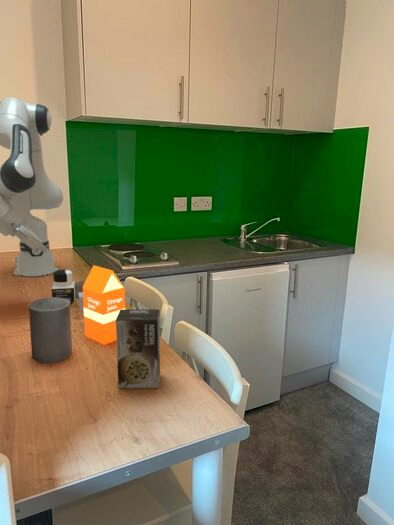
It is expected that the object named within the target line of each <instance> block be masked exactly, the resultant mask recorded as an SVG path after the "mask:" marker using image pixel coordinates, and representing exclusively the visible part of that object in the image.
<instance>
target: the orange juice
mask: <svg viewBox="0 0 394 525" xmlns="http://www.w3.org/2000/svg"><path fill="white" fill-rule="evenodd" d="M84 281H85V283H84V285H83V287H82V288H83V302H84V311H83V319H84V320H83V321H84V337H86V338H89V339H91V340H93V341H95V342H97V343H99V344H101V345H104V346H105V345H108V344H110V343H113V342H115V341H117V339H116V318H117V316H118V314H119V312H120V310H126V293H125V292H126V290H125V287H124V285H123V284H122V282H121V281H120V279H119V277H118V276H117V275H116V274H115V272H114V270H112V269H108V268H105V267H101V266H98V265H92V268H91V269H90V272H89V273H88V276H87V278H86V280H84Z"/></svg>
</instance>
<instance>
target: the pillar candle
mask: <svg viewBox="0 0 394 525" xmlns="http://www.w3.org/2000/svg"><path fill="white" fill-rule="evenodd" d="M28 317H29V330H30V332H29V334H30V346H31V347H30V348H31V349H30V350H31V358H32V359H33V360H34V361H35V362H37V363H43V364H51V363H53V364H54V363H57V362H61V361H63V360H66V359H68V358H69V357H70V355H71V354H72V352H73V346H72V345H73V344H72V323H71V322H72V321H71V320H72V319H71V307H70V301H69V300H67V299H64V298H58V297H52V296H51V297H50V296H49V297H43V298H38V299H35V300H34V301H31V302H30V303H29V304H28Z"/></svg>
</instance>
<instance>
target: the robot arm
mask: <svg viewBox="0 0 394 525" xmlns="http://www.w3.org/2000/svg"><path fill="white" fill-rule="evenodd" d="M51 116H52V115H51V113H50V111H49V108H48V107H47V106H46V105H43V104H39V103H37V104H36V103H35V104H34V103H30V102H24V101H23V100H21V99H20V98H17V97H14V96H13V97H11V96H10V97H9V96H8V97H5V98H3V99H2V100H1V101H0V146H1V147H2V148H5V149H7V150H9V157H8V158H7V159H6V160H5V161H4V162H3V164H1V165H0V234H1V235H3V236H4V237H7V236H11V237H12V238H14V237H16V238H17V239H19V245H18V246H19V250H20V252H19V253H18V254H17V255H16V257H15V263H16V266H15V268H14V270H13V272H12V274H14V275H13V276H21V275H22V277H41V276H42V275H43V276H47V274H48V275H51V274H53V273H54V272H55V271H57V270H60V269H59V267H57V266H55V258H54V253H53V252H52V251H51V250H50V241H49V238H48V225H47V223H46V222H45V220H43V219H41V218H39V217H37V216H34V215H33V214H32V213H31V211H32V210H33V211H34V210H35V211H36V210H52V209H57V208H60V207H61V206H62V204H63V201H64V194H63V191H62V189H61V188H60V187H59V186H58V185H57V184H55V183H54V182H53V181H52V179H50V177H49V176H48V174H47V172H46V170H45V167H44V160H43V150H42V141H41V137H42V136H43V135H44V134H47V133H48V131H50V129H51V126H52V117H51Z"/></svg>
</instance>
